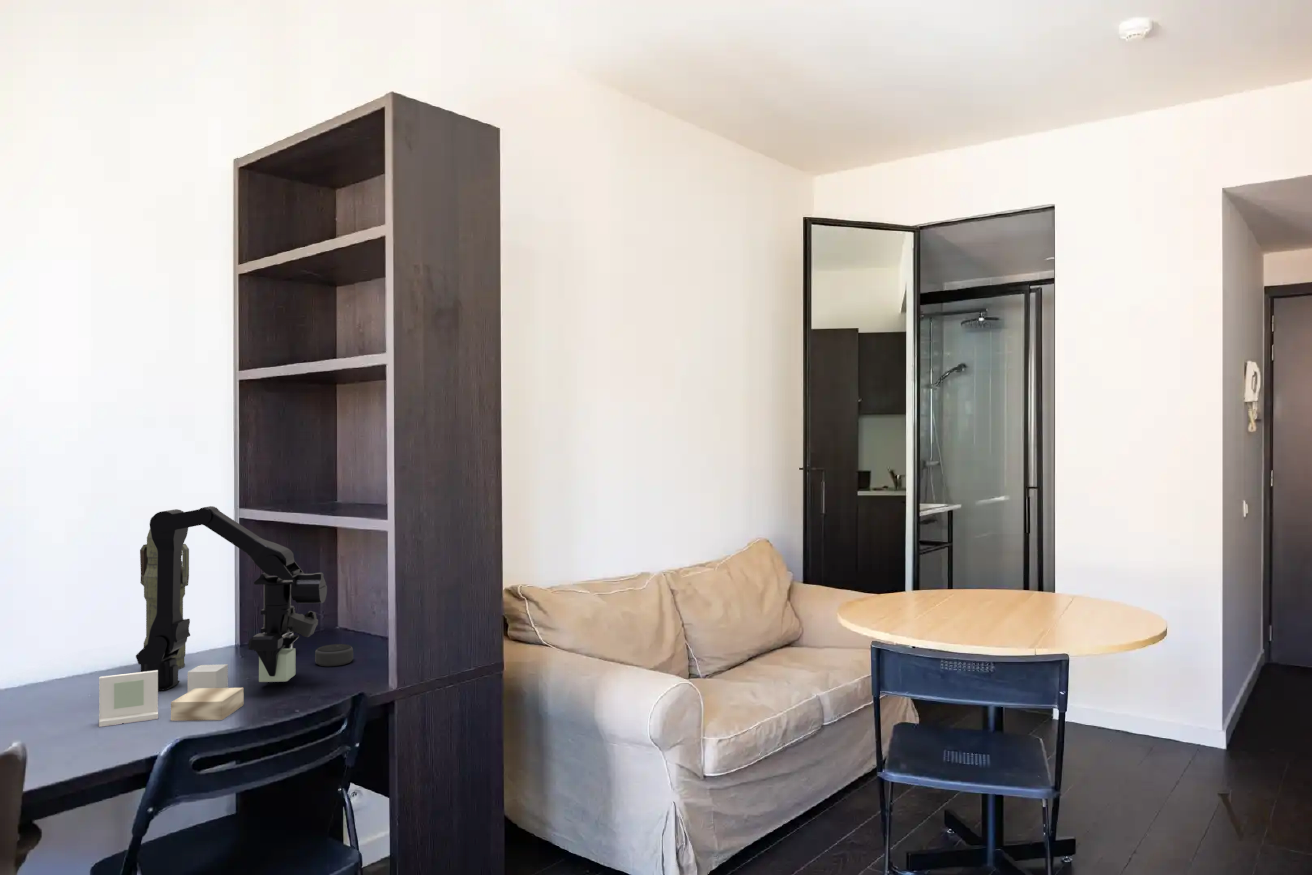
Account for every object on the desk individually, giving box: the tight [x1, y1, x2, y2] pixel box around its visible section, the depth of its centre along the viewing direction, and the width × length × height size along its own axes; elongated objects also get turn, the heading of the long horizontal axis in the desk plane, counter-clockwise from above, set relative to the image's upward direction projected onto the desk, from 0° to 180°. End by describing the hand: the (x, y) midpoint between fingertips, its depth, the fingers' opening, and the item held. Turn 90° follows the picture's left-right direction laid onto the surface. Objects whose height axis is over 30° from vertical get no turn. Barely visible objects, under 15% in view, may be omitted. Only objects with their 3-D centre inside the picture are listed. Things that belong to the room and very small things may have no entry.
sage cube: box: [258, 647, 296, 683], centre depth 203 cm, size 6×6×6 cm
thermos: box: [139, 529, 190, 670], centre depth 219 cm, size 9×12×35 cm
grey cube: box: [187, 663, 229, 693], centre depth 195 cm, size 6×6×6 cm
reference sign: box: [98, 670, 159, 728], centre depth 178 cm, size 10×5×9 cm, turn 120°
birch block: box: [170, 687, 245, 722], centre depth 182 cm, size 10×10×4 cm
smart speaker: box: [314, 643, 354, 667], centre depth 223 cm, size 9×9×4 cm
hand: (277, 672), depth 203 cm, fingers closed on sage cube, 6 cm apart
